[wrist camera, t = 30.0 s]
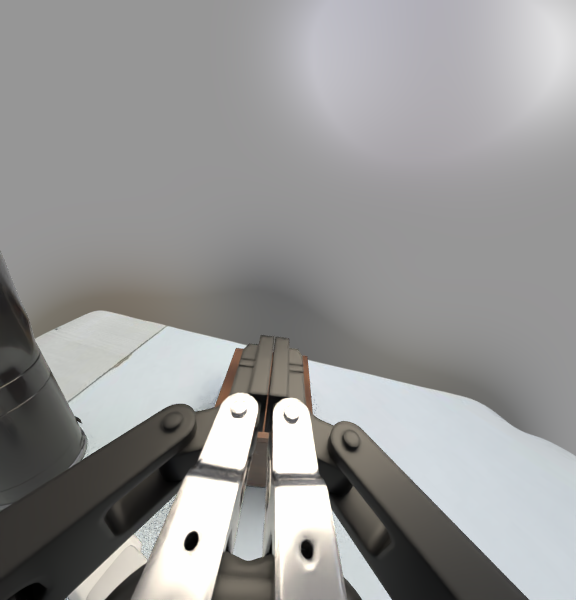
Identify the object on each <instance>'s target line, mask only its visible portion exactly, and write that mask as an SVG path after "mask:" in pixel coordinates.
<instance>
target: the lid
mask: <svg viewBox="0 0 576 600" xmlns="http://www.w3.org/2000/svg"><path fill="white" fill-rule="evenodd" d="M242 352H243V349H239V348H236V349H235V352H234V355H233V358H232V360H231V363H230V366H229V369H228V371H227V374H226V377H225V380H224V382H223V385H222V388H221V391H220V394H219V396H218V399H217V402H216V405H215V407H216V406H218V405H220V404H221V403H223V401H224V400H225V399H226V398H227V397H228V396H229V394H230V391H231V387H232V384H233V381H234V378H235V374H236V371H237V368H238V365H239V361H240V359H241V355H242ZM273 353H274V352H273ZM273 353H272V360H273ZM271 368H272V361H271ZM303 369H304V384H305V400H306V404H307V407H308V409H309V410H310V412H311V413H312V414H313V412H312V401H311V390H310V379H309V368H308V358H307V356H303ZM270 377H271V370H270ZM269 386H270V378H269ZM268 394H269V387H268ZM267 403H268V395H267ZM267 403H266V410H265V418H264V425H263V432H258V435H257V441H259V442H268V438H269V433H267V432H264V429H265V420H266V412H267Z"/></svg>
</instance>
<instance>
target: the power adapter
mask: <svg viewBox="0 0 576 600" xmlns="http://www.w3.org/2000/svg"><path fill="white" fill-rule="evenodd" d="M141 550H142V543H141V541H140V540H139V539H138V538H137V537H136V536H135V535H134V534H133V535H132V536H131V537H130V538H129V539H128V540H127V541H126V542H125V543H124V544H123V545H122V546H120V547H119V548H118V549H117V550H116V551H115V552H114V553H113V554H112V555H111V556H110V557H109V558H108V559H107V560H106V561H105V562H103V563H102V564H101V565H100V566H99V567H98V568H97V569H96V570H95V571H94V572H93V573H92V574H91V575H90V576H89V577H88V578H87V579H85V580H84V581H83V582H82V583H81V584H80V585H79V586H78V587H77V588H76V589H75V590H74V591H73V592H72V593H71V594H70V595H69V596H67V597H68V598H69V600H105V599H106V598H107V597H108V596H109V594H110V593H111V592H112V591H113V590H114V589H115V588H116V587H117V586H118V585H119V584H120V583H122V582H123V581H124V580H125V579H126V578H127V577H128V576H129V575H130V574H132V573H133V572H134V571H136V570H137V569H138V568H140V567H141V566H142V565H144V564H146V563H147V561H148V559H147V558H146V557H145V556H144V555H143V554H142V553H141Z"/></svg>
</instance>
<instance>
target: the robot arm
mask: <svg viewBox="0 0 576 600" xmlns="http://www.w3.org/2000/svg"><path fill="white" fill-rule="evenodd" d="M273 344H274V336H265V335H261V336H260V341H259V345H257V344H248V345H247V346H246V347H245V348H244V349H243V352H242V355H241V359H240V361H239V365H238V368H237V371H236V374H235V378H234V381H233V384H232V387H231V391H230V394H229V396H228V397H227V398H226V399H225V400H224V401H223V403H221V404H220V405H218V406H216V407H214V408H211V409H207V410H202V411H197V412H195V411H194V410H193V408H192V407H190V406H188V405H186V404H175V405H171V406H169V407H166V408H165V409H163V410H161V411H160V412H158V413H156V414H155V415H153V416H152V417H150V418H148V419H147V420H145V421H144V422H142V423H140V424H139V425H137V426H136V427H134V428H132V429H131V430H129V431H128V432H126V433H124V434H123V435H121V436H120V437H118V438H117V439H115V440H113V441H112V442H110V443H109V444H107V445H105V446H104V447H102V448H101V449H99V450H97V451H96V452H94V453H93V454H91V455H89V456H88V457H86V458H85V459H83V460H82V458H83V456H84V454H85V452H86V449H87V438H86V435H85V433H84V432H83V430H82V429H81V427H80V426H79V424H78V422H80V423H82V422H81V420H80V419H79V418H77V417H76V416H74V414H73V412H72V410H71V409H70V407H69V405H68V403H67V401H66V399H65V397H64V395H63V393H62V391H61V389H60V387H59V385H58V384H57V382H56V380H55V378H54V376H53V374H52V372H51V370H50V368H49V366H48V364H47V362H46V360H45V359H44V357H43V355H42V353H41V351H40V349H39V347H38V345H37V343H36V341H35V339H34V336H33V332H32V328H31V325H30V321H29V318H28V315H27V313H26V311H25V309H24V307H23V305H22V302H21V300H20V298H19V296H18V293H17V291H16V288H15V286H14V284H13V281H12V278H11V276H10V273H9V271H8V268H7V265H6V263H5V260H4V258H3V256H2V253H1V251H0V600H64V599H65V598H66V597H67V596H69V595H70V594H71V593H72V592H73V591H74V590H75V589H76V588H77V587H78V586H79V585H80V584H81V583H82V582H83V581H84V580H85V579H87V578H88V577H89V576H90V575H91V574H92V573H93V572H94V571H95V570H96V569H97V568H98V567H99V566H100V565H101V564H102V563H103V562H105V561H106V560H107V559H108V558H109V557H110V556H111V555H112V554H113V553H114V552H115V551H116V550H117V549H118V548H119V547H120V546H122V545H123V544H124V543H125V542H126V541H127V540H128V539H129V538H130V537H131V536H132V535H133V534H134V533H135V532H136V531H137V530H138V529H140V528H141V527H142V526H143V525H144V524H145V523H146V522H147V521H148V520H149V519H150V518H151V517H152V516H153V515H154V514H155V513H156V512H158V511H159V510H160V509H161V508H162V507H163V506H164V505H165V504H166V503H167V502H168V501H169V500H170V499H171V498H172V497H173V496H174V495H176V494H177V496H176V498H175V500H174V502H173V505H172V507H171V509H170V511H169V514H168V516H167V518H166V521H165V523H164V525H163V527H162V530H161V532H160V534H159V536H158V539H157V541H156V543H155V546H154V548H153V550H152V552H151V555H150V557H149V559H148V561H147V563H146V564H144V565H142V566H141V567H140V568H138V569H137V570H136V571H134V572H133V573H132V574H130V575H129V576H128V577H127V578H126V579H125V580H124V581H123V582H122V583H120V584H119V585H118V586H117V587H116V588H115V589H114V590H113V591H112V592H111V593H110V594H109V596H108V597H107V598H106V599H105V600H362V599H361V597H360V596H359V595H358V593H357V592H356V590H355V589H354V588H353V587H352V586H351V584H350V583H349V582H348V581H347V580H346V579H345V578H344V577H343V573H342V567H341V561H340V556H339V550H338V545H337V539H336V533H335V528H334V522H333V516H332V511H331V509H332V510H333V512H334V513H335V515H336V516H337V518H338V519H339V521H340V522H341V524H342V525H343V527H344V528H345V530H346V531H347V533H348V534H349V536H350V537H351V539H352V540H353V542H354V543H355V545H356V546H357V548H358V549H359V551H360V552H361V554H362V555H363V557H364V558H365V560H366V561H367V563H368V564H369V566H370V567H371V569H372V570H373V572H374V573H375V575H376V576H377V578H378V579H379V581H380V582H381V584H382V585H383V587H384V588H385V590H386V591H387V593H388V594H389V596H390V597H391V599H392V600H529V599H528V598H527V597H526V596H525V595H524V594H523V593H522V592H521V591H520V590H519V589H518V588H517V587H516V586H515V585H514V584H513V583H512V582H511V581H510V580H509V579H508V578H507V577H506V576H505V575H504V574H503V573H502V572H501V571H500V570H499V569H498V568H497V567H496V566H495V564H494V563H493V562H492V561H491V560H490V559H489V558H488V557H487V556H486V555H485V554H484V553H483V552H482V551H481V550H480V549H479V548H478V547H477V546H476V545H475V544H474V543H473V542H472V541H471V540H470V539H469V538H468V537H467V536H466V535H465V534H464V533H463V532H462V531H461V530H460V529H459V528H458V527H457V526H456V525H455V524H454V523H453V522H452V521H451V520H450V519H449V518H448V517H447V516H446V515H445V514H444V512H443V511H442V510H441V509H440V508H439V507H438V506H437V505H436V504H435V503H434V502H433V501H432V500H431V499H430V498H429V497H428V496H427V495H426V494H425V493H424V492H423V491H422V490H421V489H420V488H419V487H418V486H417V485H416V484H415V483H414V482H413V481H412V480H411V479H410V478H409V477H408V476H407V475H406V474H405V473H404V472H403V471H402V470H401V469H400V468H399V467H398V466H397V465H396V464H395V463H394V461H393V460H392V459H391V458H390V457H389V456H388V455H387V454H386V453H385V452H384V451H383V450H382V449H381V448H380V447H379V446H378V445H377V444H376V443H375V442H374V441H373V440H372V439H371V438H370V437H369V436H368V435H367V434H366V433H365V432H364V431H363V430H362V429H361V428H360V427H359V426H357V425H356V424H354V423H351V422H347V421H341V422H338V423H337V424H335V425H334V426H333V425H331V424H329V423H326V422H324V421H322V420H320V419H318V418H317V417H315V416H314V415H313V414H312V413H311V412H310V410H309V409H308V407H307V404H306V400H305V384H304V369H303V356H302V355H301V353H300V352H299V350H298V349H292V348H289V338H283V337H276V338H275V345H274V353H273ZM272 353H273V360H272ZM271 361H272V368H271ZM270 370H271V377H270ZM269 378H270V386H269ZM268 387H269V394H268ZM267 395H268V403H267ZM266 403H267V412H266V420H265V429H264V432H267V433H269V438H268V447H267V454H266V489H265V518H264V530H263V550H262V557H261V558H258V559H255V560H252V561H245V560H243V559H241V558H239V557H237V556H235V555H233V550H234V546H235V541H236V536H237V531H238V525H239V519H240V514H241V509H242V504H243V499H244V495H245V490H246V485H247V481H248V476H249V471H250V467H251V462H252V458H253V453H254V450H255V447H256V442H257V435H258V432H263V425H264V418H265V410H266ZM77 421H78V422H77Z"/></svg>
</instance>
